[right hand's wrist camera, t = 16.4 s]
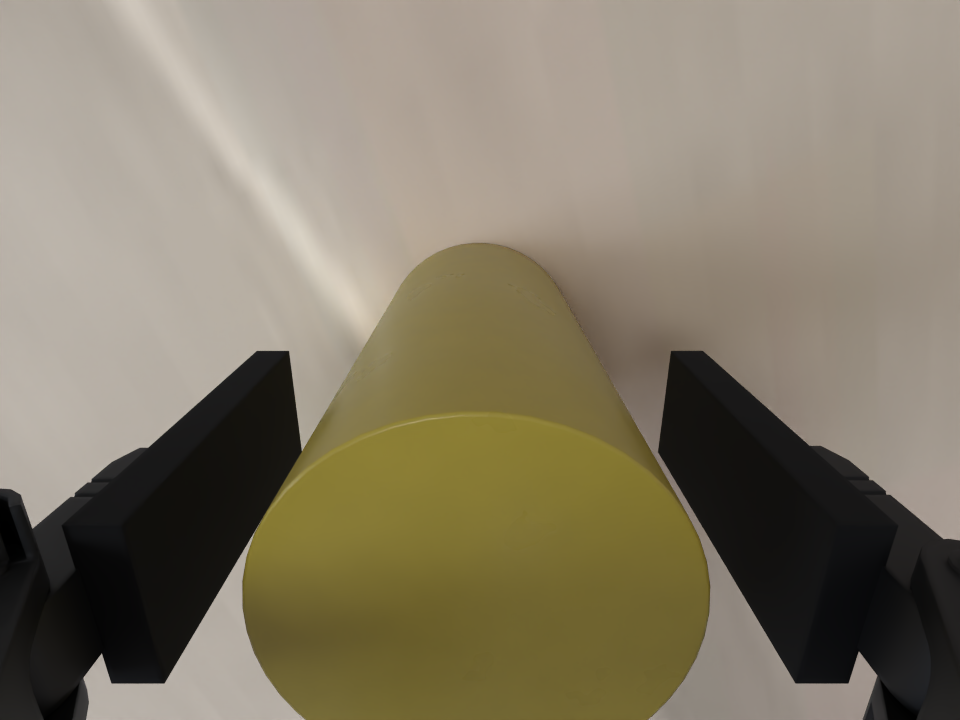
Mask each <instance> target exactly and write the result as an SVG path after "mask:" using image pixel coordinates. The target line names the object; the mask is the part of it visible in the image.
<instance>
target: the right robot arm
mask: <svg viewBox="0 0 960 720" xmlns="http://www.w3.org/2000/svg"><path fill="white" fill-rule="evenodd" d="M301 453H302V449H301V441H300V434H299V426H298V418H297V410H296V402H295V395H294V387H293V379H292V371H291V363H290V356H289V351H256V352H255V353H254V354H253V355H252V356H251V357H250V358H249V359H247V360H246V361H245V362H244V363H243V364H242V365H241V366H240V367H238V368H237V369H236V370H235V371H234V372H233V373H232V374H231V375H230V376H228V377H227V378H226V379H225V380H224V381H223V382H222V383H221V384H219V385H218V386H217V387H216V388H215V389H214V390H213V391H212V392H210V393H209V394H208V395H207V396H206V397H205V398H204V399H203V400H201V401H200V402H199V403H198V404H197V405H196V406H195V407H194V408H192V409H191V410H190V411H189V412H188V413H187V414H186V415H185V416H183V417H182V418H181V419H180V420H179V421H178V422H177V423H176V424H175V425H173V426H172V427H171V428H170V429H169V430H168V431H167V432H166V433H164V434H163V435H162V436H161V437H160V438H159V439H158V440H157V441H155V442H154V443H153V444H152V445H151V446H150V447H149V448H139V449H137V450H135V451H133V452H131V453H129V454H127V455H125V456H123V457H121V458H119V459H117V460H115V461H113V462H111V463H110V464H109V465H108V466H107V467H106V468H104V469H103V470H102V471H101V472H100V473H98V474H97V475H96V476H95V477H94V478H92V482H91V483H87V484H85V485H84V486H83V487H82V488H81V489H79V490H78V491H77V492H76V493H75V496H74V497H70V498H69V499H68V500H66V501H65V502H64V503H63V504H62V505H60V506H59V507H58V508H57V509H56V510H54V511H53V512H52V513H51V514H50V515H48V516H47V517H46V518H45V519H44V520H43V521H41V522H40V523H39V524H38V525H37V526H35V527H34V528H33V529H32V527H31V524H30V521H29V518H28V515H27V512H26V509H25V506H24V503H23V500H22V497H21V495H20V494H18V493H16V492H15V491H13V490H11V489H0V720H86V716H87V710H88V704H89V700H88V693H87V688H86V685H85V682H84V679H83V677H84V676H85V675H86V673H87V672H88V671H89V669H90V668H91V667H92V665H93V664H94V663H95V661H96V660H97V659H98V657H99V656H100V655H101V653H102V655H103V658H104V661H105V664H106V667H107V671H108V674H109V677H110V680H111V683H165V681H166V680H167V678H168V676H169V675H170V673H171V671H172V670H173V668H174V666H175V665H176V663H177V661H178V660H179V658H180V656H181V655H182V653H183V651H184V650H185V648H186V646H187V644H188V643H189V641H190V639H191V638H192V636H193V634H194V633H195V631H196V629H197V628H198V626H199V624H200V623H201V621H202V619H203V618H204V616H205V614H206V613H207V611H208V609H209V607H210V606H211V604H212V602H213V601H214V599H215V597H216V596H217V594H218V592H219V591H220V589H221V587H222V586H223V584H224V582H225V581H226V579H227V577H228V575H229V574H230V572H231V570H232V569H233V567H234V565H235V564H236V562H237V560H238V559H239V557H240V555H241V554H242V552H243V550H244V549H245V547H246V545H247V544H248V542H249V540H250V538H251V537H252V535H253V533H254V532H255V530H256V528H257V527H258V525H259V523H260V522H261V520H262V518H263V517H264V515H265V513H266V512H267V510H268V508H269V506H270V505H271V503H272V501H273V500H274V498H275V496H276V495H277V493H278V491H279V490H280V488H281V486H282V484H283V483H284V481H285V479H286V478H287V476H288V474H289V473H290V471H291V469H292V468H293V466H294V464H295V463H296V461H297V459H298V458H299V456H300V454H301ZM658 453H659V454H660V456H661V458H662V459H663V461H664V463H665V464H666V466H667V468H668V469H669V471H670V473H671V475H672V476H673V478H674V480H675V481H676V483H677V485H678V486H679V488H680V490H681V491H682V493H683V495H684V496H685V498H686V500H687V501H688V503H689V505H690V507H691V508H692V510H693V512H694V513H695V515H696V517H697V518H698V520H699V522H700V523H701V525H702V527H703V528H704V530H705V532H706V533H707V535H708V537H709V538H710V540H711V542H712V544H713V545H714V547H715V549H716V550H717V552H718V554H719V555H720V557H721V559H722V560H723V562H724V564H725V565H726V567H727V569H728V570H729V572H730V574H731V575H732V577H733V579H734V581H735V582H736V584H737V586H738V587H739V589H740V591H741V592H742V594H743V596H744V597H745V599H746V601H747V602H748V604H749V606H750V607H751V609H752V611H753V613H754V614H755V616H756V618H757V619H758V621H759V623H760V624H761V626H762V628H763V629H764V631H765V633H766V634H767V636H768V638H769V639H770V641H771V643H772V644H773V646H774V648H775V650H776V651H777V653H778V655H779V656H780V658H781V660H782V661H783V663H784V665H785V666H786V668H787V670H788V671H789V673H790V675H791V676H792V678H793V680H794V682H795V683H849V680H850V677H851V674H852V671H853V667H854V664H855V661H856V658H857V655H858V652H860V653H861V654H862V656H863V657H864V658H865V660H866V661H867V662H868V664H869V665H870V666H871V667H872V669H873V670H874V671H875V673H876V674H877V675H878V676H877V679H876V682H875V685H874V688H873V691H872V694H871V697H870V700H869V703H868V706H867V709H866V712H865V714H864V717H863V720H960V541H959V540H952V539H942V538H941V537H940V536H939V535H938V534H936V533H935V532H934V531H933V530H932V529H931V528H929V527H928V526H927V525H926V524H925V523H923V522H922V521H921V520H920V519H919V518H917V517H916V516H915V515H914V514H913V513H911V512H910V511H909V510H908V509H907V508H905V507H904V506H903V505H902V504H901V503H899V502H898V501H897V500H896V499H895V498H893V497H892V496H891V495H886V491H885V490H884V489H883V488H881V487H880V486H879V485H878V484H877V483H875V482H874V481H873V480H869V477H868V476H867V475H866V474H865V473H863V472H862V471H861V470H860V469H859V468H857V467H856V466H855V465H854V464H853V463H851V462H850V461H849V460H847V459H845V458H843V457H841V456H839V455H837V454H836V453H834V452H832V451H830V450H828V449H826V448H824V447H822V446H809V445H808V444H807V443H806V442H805V441H803V440H802V439H801V438H800V437H799V436H798V435H797V434H796V433H794V432H793V431H792V430H791V429H790V428H789V427H788V426H787V425H785V424H784V423H783V422H782V421H781V420H780V419H779V418H778V417H776V416H775V415H774V414H773V413H772V412H771V411H770V410H769V409H768V408H766V407H765V406H764V405H763V404H762V403H761V402H760V401H759V400H757V399H756V398H755V397H754V396H753V395H752V394H751V393H750V392H748V391H747V390H746V389H745V388H744V387H743V386H742V385H741V384H739V383H738V382H737V381H736V380H735V379H734V378H733V377H732V376H730V375H729V374H728V373H727V372H726V371H725V370H724V369H723V368H722V367H720V366H719V365H718V364H717V363H716V362H715V361H714V360H713V359H711V358H710V357H709V356H708V355H707V354H706V353H705V352H704V351H671V356H670V363H669V371H668V379H667V387H666V395H665V402H664V410H663V418H662V426H661V434H660V441H659V449H658Z"/></svg>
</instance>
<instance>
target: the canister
mask: <svg viewBox="0 0 960 720" xmlns="http://www.w3.org/2000/svg"><path fill="white" fill-rule="evenodd" d="M709 606H710V581H709V574H708V567H707V561H706V558H705V554H704V551H703V548H702V545H701V542H700V539H699V536H698V534H697V532H696V530H695V528H694V526H693V524H692V523H691V521H690V519H689V517H688V515H687V513H686V511H685V509H684V508H683V506H682V504H681V502H680V501H679V499H678V497H677V495H676V494H675V492H674V490H673V488H672V487H671V485H670V483H669V481H668V480H667V478H666V476H665V474H664V473H663V471H662V469H661V467H660V466H659V464H658V462H657V460H656V459H655V457H654V455H653V454H652V452H651V450H650V448H649V447H648V445H647V443H646V441H645V440H644V438H643V436H642V434H641V433H640V431H639V429H638V427H637V426H636V424H635V422H634V420H633V419H632V417H631V415H630V413H629V412H628V410H627V408H626V406H625V405H624V403H623V401H622V399H621V398H620V396H619V394H618V392H617V391H616V389H615V387H614V385H613V384H612V382H611V380H610V378H609V377H608V375H607V373H606V371H605V370H604V368H603V366H602V364H601V363H600V361H599V359H598V358H597V356H596V354H595V352H594V351H593V349H592V347H591V345H590V344H589V342H588V340H587V338H586V337H585V335H584V333H583V331H582V330H581V328H580V326H579V324H578V323H577V321H576V319H575V317H574V316H573V314H572V312H571V310H570V309H569V307H568V305H567V303H566V302H565V300H564V298H563V296H562V295H561V293H560V291H559V289H558V288H557V286H556V285H555V283H554V282H553V280H552V279H551V278H550V276H549V275H548V274H547V273H546V272H545V271H544V270H543V269H542V268H541V267H540V266H539V265H538V264H536V263H535V262H534V261H533V260H531V259H530V258H528V257H526V256H525V255H523V254H521V253H519V252H517V251H514V250H512V249H510V248H506V247H503V246H499V245H493V244H486V243H472V244H463V245H458V246H454V247H450V248H447V249H445V250H443V251H440V252H438V253H436V254H434V255H432V256H431V257H429V258H427V259H426V260H424V261H423V262H422V263H421V264H419V265H418V266H417V267H416V268H415V269H414V270H413V271H412V272H411V273H410V274H409V275H408V276H407V278H406V279H405V280H404V282H403V283H402V284H401V286H400V288H399V289H398V291H397V293H396V294H395V296H394V298H393V299H392V301H391V303H390V305H389V306H388V308H387V310H386V311H385V313H384V315H383V316H382V318H381V320H380V321H379V323H378V325H377V326H376V328H375V330H374V331H373V333H372V335H371V336H370V338H369V340H368V342H367V343H366V345H365V347H364V348H363V350H362V352H361V353H360V355H359V357H358V358H357V360H356V362H355V363H354V365H353V367H352V368H351V370H350V372H349V373H348V375H347V377H346V379H345V380H344V382H343V384H342V385H341V387H340V389H339V390H338V392H337V394H336V395H335V397H334V399H333V400H332V402H331V404H330V405H329V407H328V409H327V410H326V412H325V414H324V416H323V417H322V419H321V421H320V422H319V424H318V426H317V427H316V429H315V431H314V432H313V434H312V436H311V437H310V439H309V441H308V442H307V444H306V446H305V447H304V449H303V451H302V453H301V454H300V456H299V458H298V459H297V461H296V463H295V464H294V466H293V468H292V469H291V471H290V473H289V474H288V476H287V478H286V479H285V481H284V483H283V484H282V486H281V488H280V490H279V491H278V493H277V495H276V496H275V498H274V500H273V501H272V503H271V505H270V506H269V508H268V510H267V512H266V513H265V515H264V517H263V519H262V521H261V523H260V524H259V526H258V528H257V530H256V532H255V534H254V537H253V540H252V543H251V546H250V548H249V551H248V554H247V557H246V563H245V569H244V575H243V612H244V618H245V624H246V630H247V633H248V636H249V639H250V642H251V645H252V648H253V651H254V654H255V656H256V657H257V659H258V661H259V663H260V665H261V667H262V669H263V671H264V673H265V674H266V676H267V677H268V679H269V680H270V682H271V683H272V684H273V686H274V687H275V688H276V690H277V691H278V693H279V694H280V695H281V696H282V697H283V698H284V699H285V700H286V701H287V703H288V704H289V705H290V706H291V707H292V708H293V709H294V710H295V711H296V712H297V713H298V714H299V715H301V716H302V717H303V718H304V719H305V720H648V719H649V718H650V717H652V716H653V715H654V714H655V713H656V712H657V711H658V710H659V709H660V708H661V707H662V706H663V705H664V704H665V703H666V702H667V701H668V700H669V699H670V697H671V696H672V695H673V693H674V692H675V691H676V690H677V688H678V687H679V686H680V684H681V683H682V682H683V680H684V679H685V677H686V675H687V674H688V672H689V670H690V668H691V667H692V665H693V663H694V661H695V659H696V657H697V655H698V652H699V649H700V647H701V644H702V641H703V639H704V636H705V631H706V626H707V621H708V616H709Z"/></svg>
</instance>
